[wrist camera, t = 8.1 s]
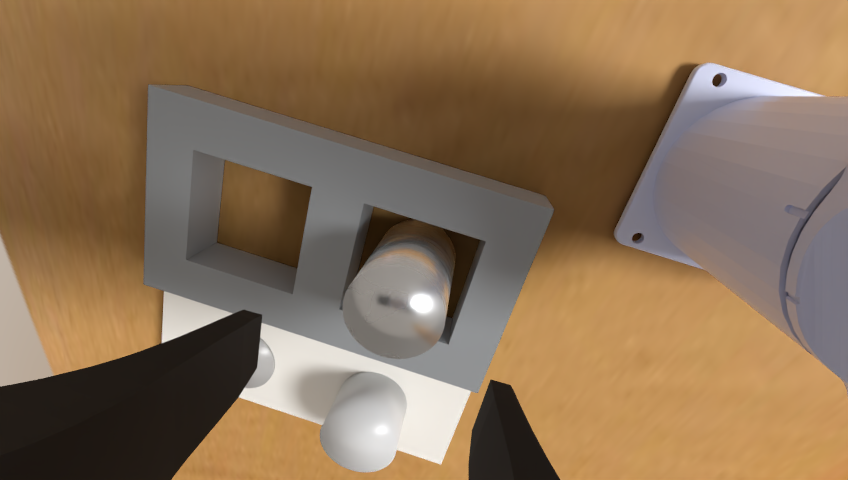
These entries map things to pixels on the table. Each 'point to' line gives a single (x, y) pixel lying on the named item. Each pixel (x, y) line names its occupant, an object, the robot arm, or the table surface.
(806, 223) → the robot arm
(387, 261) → the pin
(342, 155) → the grey square hole plate
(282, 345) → the white peg base plate
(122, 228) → the table surface
